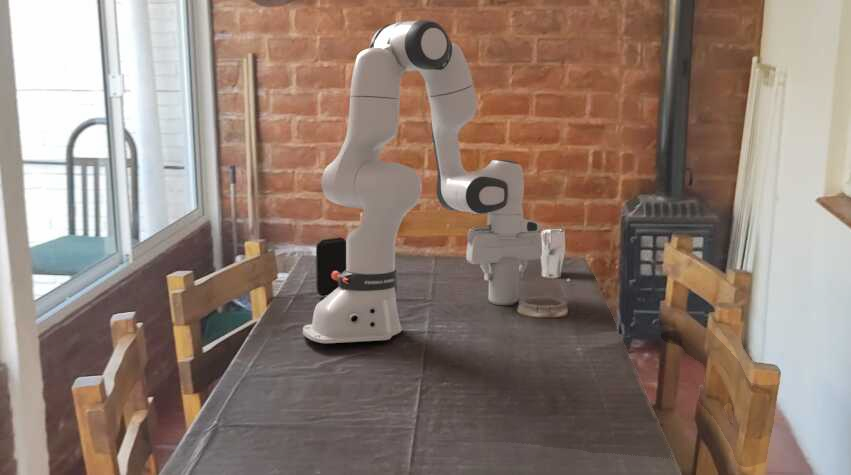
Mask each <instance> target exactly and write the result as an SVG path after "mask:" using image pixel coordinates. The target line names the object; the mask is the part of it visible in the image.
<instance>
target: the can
mask: <svg viewBox="0 0 851 475" xmlns="http://www.w3.org/2000/svg"><path fill="white" fill-rule="evenodd" d="M516 258H517V257H515V258H511V259H501V258H500V259H499V260H500V261H499V262H497V263H489V267H488V271H489V273H492V274H493V277H492V278H493V280H491V281H488V296H487V297H488V300H489V302H490V303H492V304H493V305H497V306H512V305H515V303H517V302H519V288H520V287H519V285H520V283H519V281H520V278H519V266H520V263H519V261H517V260H516Z"/></svg>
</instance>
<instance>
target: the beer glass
mask: <svg viewBox="0 0 851 475" xmlns="http://www.w3.org/2000/svg"><path fill="white" fill-rule="evenodd" d="M565 232H566V230H563V229H559V228H558V229H557V228H547V229H546V228H544V229H540V235H541V238H542V255H541V257H540V258H539V259H540V264H541V277H544V278H547V279H557V278H560V277H562V267H563V262H564V258H565V250H566V234H565Z"/></svg>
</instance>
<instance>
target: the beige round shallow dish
mask: <svg viewBox="0 0 851 475" xmlns="http://www.w3.org/2000/svg"><path fill="white" fill-rule="evenodd" d="M517 312H518V314H520V315H523V316H526V317H533V318H542V319H543V318H544V319H546V318H547V319H549V318H550V319H551V318H559V317H565V316H567V315H568V302H567V301H566V300H564V299H561V298H559V297H552V296H542V295H541V296H527V297H526V296H525V297H522V298H520V299H519V298H518V305H517Z"/></svg>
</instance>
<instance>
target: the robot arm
mask: <svg viewBox="0 0 851 475" xmlns="http://www.w3.org/2000/svg"><path fill="white" fill-rule="evenodd" d="M415 71H418V72H419V74H420V75H421V77H422V78H423V80H424V84H425V89H426V93H427V98H428V103H429V106H430V113H431V122H430V130H431V138H432V143H433V144H432V145H433V150H434V156H435V158H434V159H435V163H436V169H437V180H436V197H437V199H438V202H439V203H440V205H441V206H442V207H443V208H445V209H446V210H449V211H453V212H465V213H467V214H468V213H469V214H470V213H471V214H475V215H482V214H486V213H487V222H486V223H487V225H482V226H480V225H479V226H477V225H476V226H473V227H471V229H469V231H468V232H467V246H466V255H465V256H466V258H465V259H466V260H467V262H468V263H469V264H472V265H478V264H479V266H480V268H481V271H482V273H483V275H484V276H483V279H484V280H483V281H488V282H489V281H491V280H493V278H492V277H493V274H492V273H489V263H497V262H499V261H500V260H499V259H500V258H501V259H511V258H515V257H517V258H516V260H517V261H518V262H519V279H523V278H524V271H525V270H526V268H527V266H528V262H529V261H533V260H534V261H535V260H540V259H541V258H540V257H541V255H542V238H541V223H540V222H537V221H534V220H531V219H529V218H526V217H524V209H523V199H524V194H525V184H524V183H525V181H524V178H525V177H524V171H523V167H522V165H521V164H520V163H519V162H517V161H513V160H509V159H508V160H506V159H501V158H495V159H492V160H491V162H490V163H489V164H488V165H486V166H485V167H484V168H482V169H480V170H478V171H475V173H470V172H468V171H467V170H465V168H464V167H463V164H462V156H461V151H460V144H459V133H460V131H461V130H462V128H463V127H464V126H465V125H467V124H469V123H470V121H471V120H472V119H473V117H474V116H475V114H476V112H477V107H478V106H477V104H478V102H477V101H478V100H477V94H476V90H475V86H474V80H473V77H472V75H471V73H472V72H471V71H470V68H469V64H468V63H467V59H466V57H465V55H464V53H463V50H462V48H461V47H460V46H459V45H458V44H456V43H455V42H452V41H451V39H450V38H449V34H448V33H447V32H446V30H445V29H444V27H443V26H442V25H440V24H439V23H437V22H435V21H432V20H427V19H421V20H405V21H404V20H403V21H399V22H396V23H390V24H389V23H388V24H386V25H384V26H382V27H380V28H379V29H378V30H377V31H376V32H375V33H374V34H373V36H372V38H371V41H370V45H369V47H368V48H365V49H363V50H362V51H360V52H359V53H358V55H357V56H356V58H355V62H354V66H353V70H352V75H351V82H350V83H351V84H350V91H349V92H350V94H349V110H348V111H349V112H348V123H347V131H346V135H345V139H344V142H343V144H342V146H341V149H340V150H339V152H338V154H337V156H336V158H334V160H333V161H332V162H330V163H329V164H328V165H327V166H326V167H325V169H324V170H323V174H322V175H321V190H322V192H323V195H324V196H325V198H326V199H327V200H328V201H330V202H331V203H334V204H337V205H340V206H342V207H346V208H352V209H360V210H361V209H362V210H363V214H362V219H361V221H360V224H359V226H357V227H355V228H353V229H352V230H350V232H349V233H348V234H347V237H346V239H345V241H346V270H345V271H344V272H342V273H340V272H338V271H333V273H332V275H331V276H333V277H332V279H334V280H336V281H338V286H339V287H338V288H336V289H335V290H334V291H333V292H332V293H330V294H329V295H327V296H325V297H324V298H323V299H322V300H321V301H319V302H317V304H316V305H315V308H314V310H313V314H312V315H313V316H312V323H311V324H305V325H304V326H303V327H302V334H303V336H305V337H306V338H307V339H309V340H311V341H313V342H315V343H320V344H336V343H339V344H340V343H355V342H356V343H357V342H373V341H376V342H377V341H387V340H390V339H391V338H392V337H393V336H396V335H398V334H400V333H401V332H402V330H403V329H402V326H401V323H400V318H399V313H398V307H397V299H396V298H397V296H396V293H397V286H398V275H397V273H398V272H397V269H396V267H395V266H396V265H395V263H396V244H397V243H396V241H397V235H398V231H399V229H400V226H401V223H402V221H403V219H404V218H405V216H406V215H407V213H409V212H410V211H411V210H412V209H413V208H415V207H416V206H417V204H418V203H419V201H420V199H421V196H422V189H423V185H422V180H421V179H422V178H421V177H420V174H419V173H418V172H417V170H416V169H414V167H413V168H412V167H410V166H408V165H404V164H401V163H398V162H393V161H392V162H391V161H379V159H380V157H381V153H382V151H383V149H384V147H385V146H386V145H387V144H388V143H390V142H391V141H393V140H395V138H396V136H397V135H398V133H399V119H400V118H399V117H400V102H401V101H400V98H401V86H400V84H401V80H402V79H403V75H404V74H405V72H415ZM539 231H540V232H539Z"/></svg>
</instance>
